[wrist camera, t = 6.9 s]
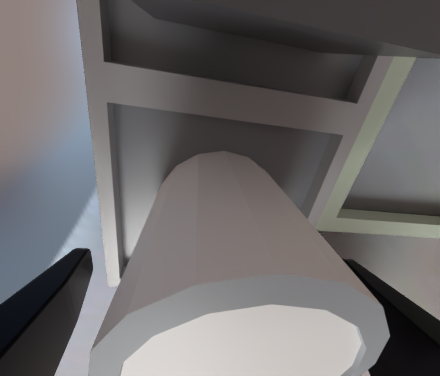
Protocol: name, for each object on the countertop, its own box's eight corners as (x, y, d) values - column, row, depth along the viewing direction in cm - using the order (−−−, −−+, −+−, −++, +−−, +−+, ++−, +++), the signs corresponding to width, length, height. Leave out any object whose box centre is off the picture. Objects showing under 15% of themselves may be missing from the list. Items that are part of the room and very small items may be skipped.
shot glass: (123, 233, 12) (51, 428, 6) (180, 105, 9) (158, 225, 3) (240, 269, 14) (277, 436, 8) (315, 176, 11) (460, 325, 5)
